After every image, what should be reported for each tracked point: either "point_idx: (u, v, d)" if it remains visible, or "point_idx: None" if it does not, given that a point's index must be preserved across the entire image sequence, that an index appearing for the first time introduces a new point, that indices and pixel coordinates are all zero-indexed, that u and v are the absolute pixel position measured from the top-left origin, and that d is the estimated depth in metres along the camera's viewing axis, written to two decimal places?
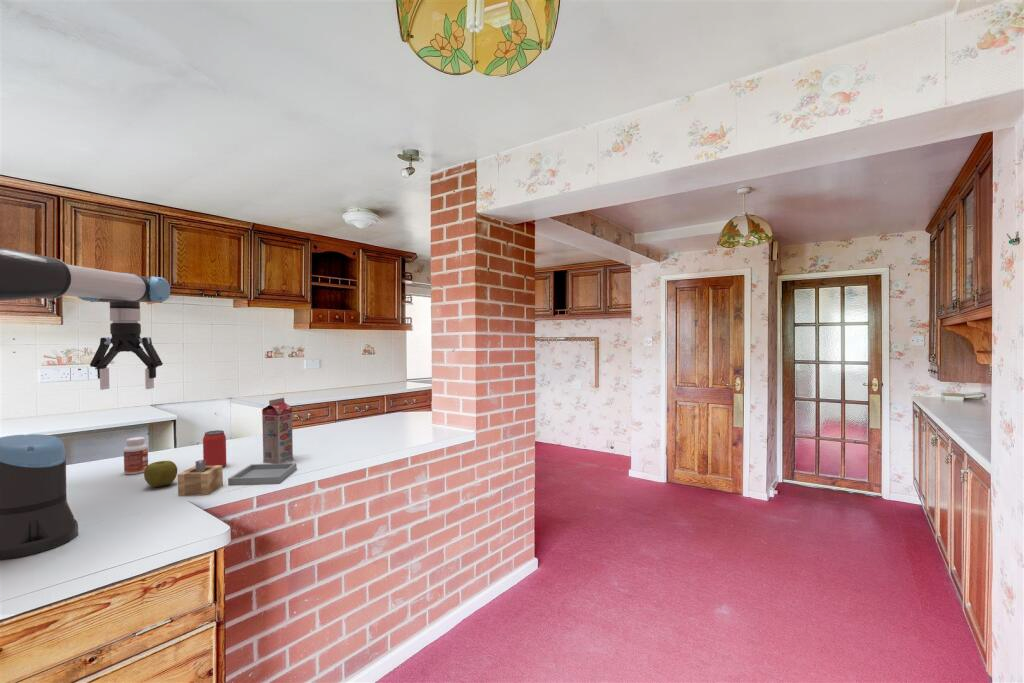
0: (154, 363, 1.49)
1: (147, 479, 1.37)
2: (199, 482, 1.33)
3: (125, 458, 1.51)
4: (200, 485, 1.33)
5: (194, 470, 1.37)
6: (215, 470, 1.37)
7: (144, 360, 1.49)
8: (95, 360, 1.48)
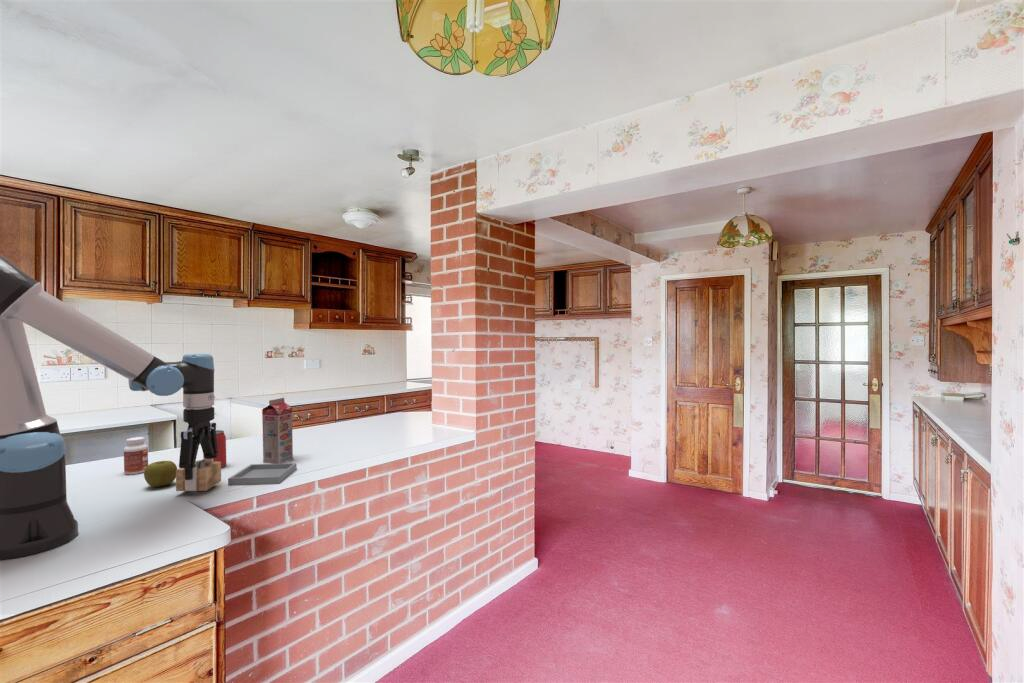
0: None
1: (147, 479, 1.37)
2: (197, 477, 1.32)
3: (125, 458, 1.51)
4: (198, 481, 1.32)
5: None
6: (213, 466, 1.37)
7: None
8: None
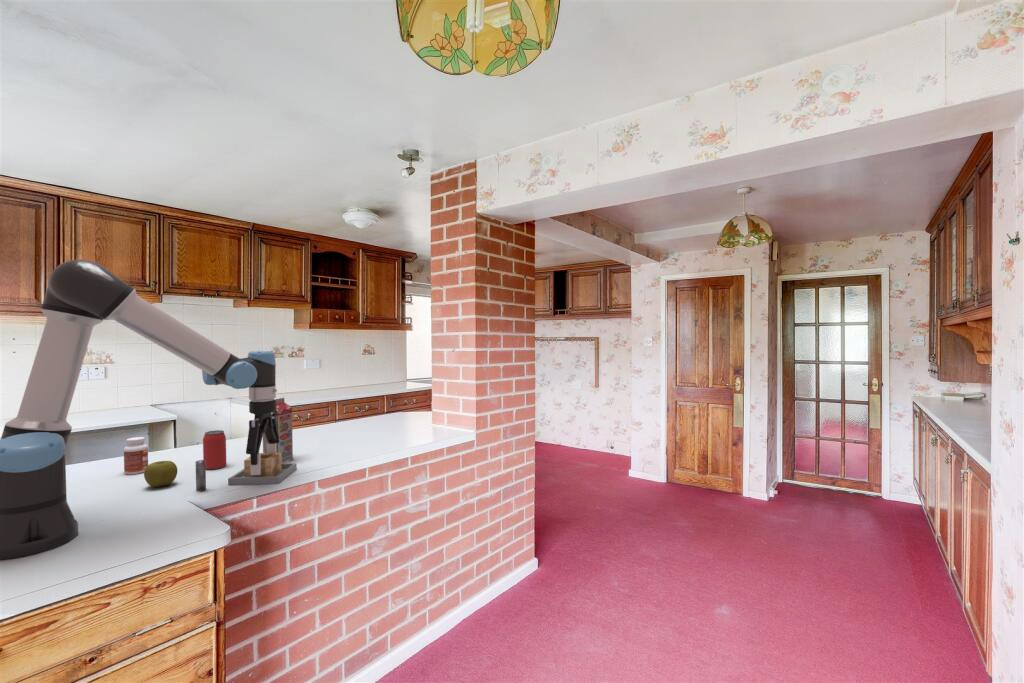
0: None
1: (147, 479, 1.37)
2: (263, 467, 1.45)
3: (125, 458, 1.51)
4: (264, 470, 1.45)
5: None
6: (276, 457, 1.49)
7: None
8: None
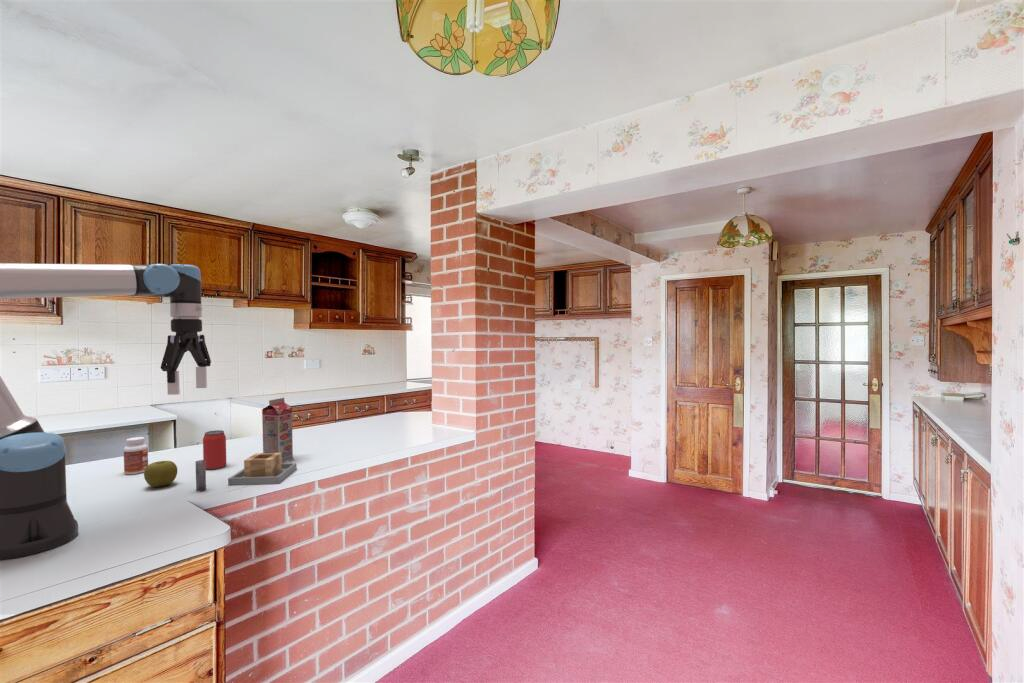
0: None
1: (147, 479, 1.37)
2: (263, 467, 1.45)
3: (125, 458, 1.51)
4: (264, 470, 1.45)
5: (257, 457, 1.49)
6: (276, 457, 1.49)
7: None
8: None
